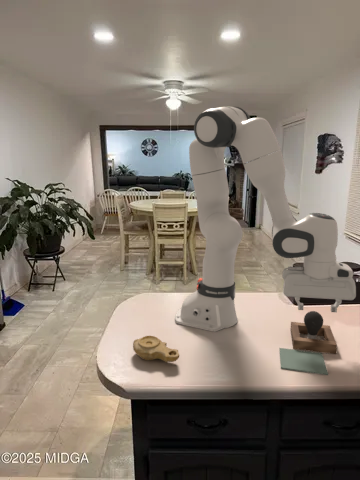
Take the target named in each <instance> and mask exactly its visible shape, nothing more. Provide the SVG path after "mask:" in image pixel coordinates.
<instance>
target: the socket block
mask: <svg viewBox="0 0 360 480" xmlns="http://www.w3.org/2000/svg"><path fill="white" fill-rule="evenodd" d="M289 329H290V337H291V344H292V349H293V350H301V351H309V352H318V353H322V354H323V353H325V354H331V355H337V350H338V344H337V341H336V339H335V336H334V334H333V331H332V329H331V326H330V325H327V324H323V325H322V327H321V328H320V329H319V331H318V333H317V336H318V337H323V339H318V338H316V339H309V338H308V337H301V335H306V336H308V332H307V328H306V326H305V323H304V322H298V321H297V322H296V321H290V328H289ZM317 336H316V337H317Z"/></svg>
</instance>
